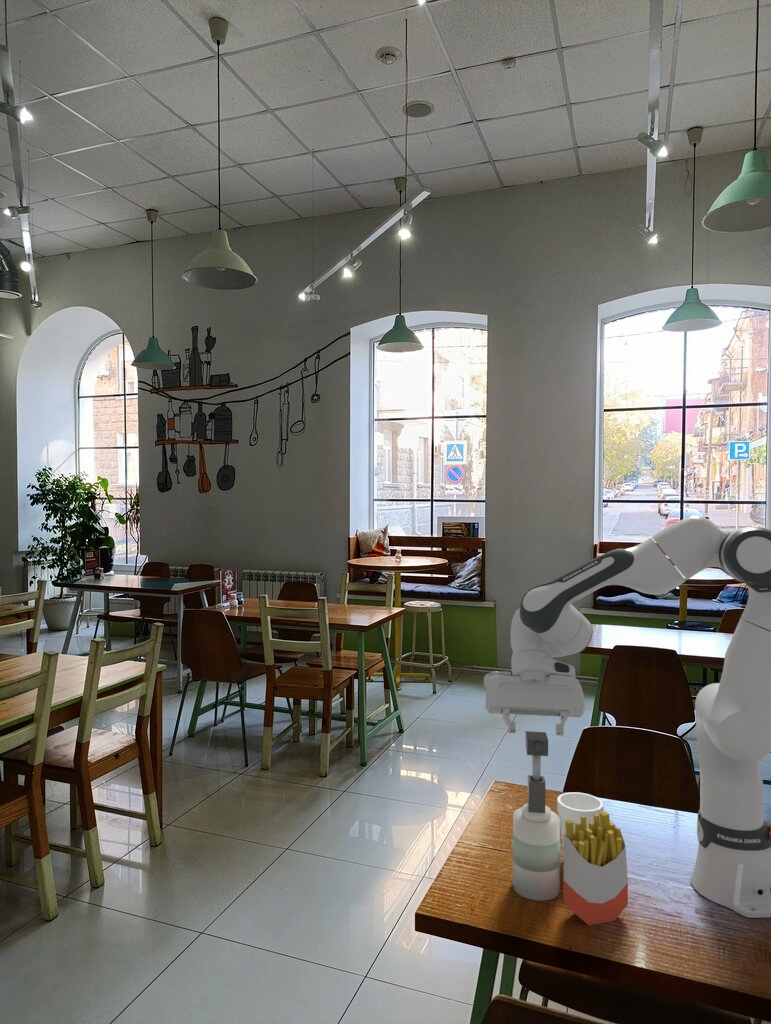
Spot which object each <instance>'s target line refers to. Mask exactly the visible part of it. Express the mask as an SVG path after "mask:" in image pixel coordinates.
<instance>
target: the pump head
mask: <svg viewBox="0 0 771 1024" xmlns="http://www.w3.org/2000/svg"><path fill="white" fill-rule="evenodd" d="M524 734H525V738H524V739H525V742H524V743H525V744H524V745H525V751H526V756H532V762H531V763H532V767H531V768H532V771H531V772H532V773H531V775H532V781H541V776H542V775H541V770H542V769H541V767H542V766H541V765H542V763H541V762H542V759H541V757H548V756H549V738H548V736H547V732H545V731H544V732H543V731H527V730H526V731H525V733H524Z"/></svg>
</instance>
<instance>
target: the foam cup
mask: <svg viewBox="0 0 771 1024" xmlns="http://www.w3.org/2000/svg"><path fill="white" fill-rule="evenodd" d="M556 803H557V804H556V805H557V806H556V807H557V814H558V816H559V818H560V833H561V835H560V836H561V841H562V851H563V852H564V834H566V823H565V821H567V820H571V821H572V822H573V825H574V833H575V823H576V822H579V823H580V824H581V815H585V816H586V827H587V829H589V823H590V822H592V821H593V822H594V814H598V815H599V819H600V812H604V811H605V810H604V806H605V805H604V802H603V800H601V799H600V798H599V797H597V796H594V795H592V794H590V793H584V792H578V791H576V792H572V791H571V792H565V793H562V794H560V795H559V796H557V802H556ZM600 826H601V825H600Z"/></svg>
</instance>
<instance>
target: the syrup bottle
mask: <svg viewBox="0 0 771 1024" xmlns="http://www.w3.org/2000/svg"><path fill="white" fill-rule="evenodd" d="M560 833H561V827H560V818H559V814H558V813H556V812H554V811H552V809H551V807H549V806H548V805H546V780H545V776H544V775H541V781H532V774H528V775H527V803H525V804H523V805H522V806H521V807H519V808H517V809H515V810H514V812H513V814H512V856H511V857H512V888H513V890H514V891H515V893H517V894H518V895H520V896H521V897H523V898H526V899H528V900H532V901H537V902H538V901H540V902H542V901H543V902H544V901H545V902H546V901H550V900H553V899H555V898H557V897H558V896H559V895H560V866H561V835H560Z"/></svg>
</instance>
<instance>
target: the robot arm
mask: <svg viewBox="0 0 771 1024" xmlns="http://www.w3.org/2000/svg"><path fill="white" fill-rule="evenodd" d="M713 567H714V568H717V569H719V570H720V571H722V572H723V573H725V574H726V575H728V576H729V577H731V578H732V579H734V580H735V581H738V582H741V583H744V584H745V585H746V587H747V593H748V598H747V602H746V605H745V608H744V610H743V611H742V614H741V616H740V618H739V621H738V623H737V625H736V627H735V630H734V631H733V635H732V637H731V639H730V642H729V644H728V647H727V648H726V651H725V654H724V661H723V667H722V668H723V669H722V672H721V677H720V680H719V682H715V683H714V682H713V683H710V684H708V685H707V684H706V686H704V687H702V688H701V689H700V690H699V691H698V693H697V695H696V698H695V701H694V703H695V704H694V709H695V727H696V728H695V729H696V730H695V731H696V741H697V743H696V744H697V751H698V752H697V753H698V754H697V755H698V763H699V778H700V779H699V785H700V786H699V788H700V790H699V794H700V795H699V797H700V799H699V804H700V805H699V809H698V810H697V820H696V835H697V841H698V847H697V853H696V860H695V865H694V869H693V871H692V874H691V877H690V883H691V885H692V887H693V889H695V891H697V892H698V893H699V894H700V895H701V896H703V897H704V898H707V900H709V901H711V902H714V903H715V904H719V905H721V906H723V907H726V908H728V909H731V910H732V911H734V912H736V913H737V914H739V915H741V916H743V917H746V918H749V919H750V918H753V919H755V918H756V919H757V918H759V919H760V918H771V917H770V916H771V823H769V822H767V821H766V820H765V819H764V781H763V776H762V773H761V767H760V761H762V760H764V759H765V758H766V757H768V756H769V755H770V754H771V530H770V529H768V528H765V527H761V526H746V527H741V528H737V529H735V530H730V531H722V529H720V528H719V527H718V526H717V525H716V524H715V523H714V522H713V521H712V520H710V519H709V518H706V517H704V516H702V515H690V516H687V517H685V518H683V519H680V520H678V521H676V522H675V523H673V524H671V525H669V526H667V527H665V528H664V529H662V530H660V531H659V532H656V534H653V536H651V537H649V538H648V539H647V540H645V541H643V542H641V543H639V544H635V545H634V546H631V547H627V548H616V549H611V550H609V551H606V552H605V553H603V554H600V555H598V556H596V557H595V558H593V559H590V560H588V561H587V562H585V563H583V564H580V565H579V566H577V567H575V568H574V569H572V570H570V571H567V572H566V573H564V574H562V575H560V576H559V577H557V578H554V579H553V580H550V581H548V582H544V583H541V584H537V585H535V586H533V587H532V588H530V589H528V590H527V592H525V594H523V596H522V599H521V601H520V604H519V608H517V610H516V611H515V612H514V614H513V616H512V620H511V625H510V647H511V651H512V654H511V660H510V661H511V662H510V664H511V671H497V670H492V671H490V672H489V673H486V674H485V675H484V677H483V687H484V688H485V689H486V691H485V704H484V705H485V707H484V708H485V710H486V712H487V713H489V714H498V715H501V714H502V719H503V721H504V723H505V724H506V726H507V733H508V734H516V732H517V729H516V728H517V727H516V725H517V724H516V723H517V722H516V721H512V720H511V718H510V715H518V716H521V715H522V716H539V717H540V716H541V717H542V716H543V717H558V718H559V720H560V723H555V728H554V729H555V730H554V731H555V736H561V737H563V736H565V735H564V734H565V730H564V729H565V726H566V724H567V722H568V720H569V718H582V717H583V715H584V713H585V709H586V701H585V696H584V692H583V689H582V685H581V683H580V681H579V680H578V679H577V677H576V669H575V666H574V665H572V664H569V663H565V662H562V661H559V660H556V659H557V658H565V657H569V656H574V655H577V654H579V653H581V652H583V651H584V650H585V649H586V648H587V647H588V646H590V645H589V644H590V643H591V640H592V638H593V625H592V623H591V622H590V620H588V619H587V618H586V617H585V615H584V614H583V613H582V612H580V611H579V610H578V609H577V608H576V607H575V606H574V605H573V603H574V602H576V601H578V600H580V599H582V598H584V597H586V596H588V595H589V594H592V593H594V592H595V591H598V590H599V589H601V588H604V587H606V586H623V587H626V588H630V589H632V590H635V591H638V592H639V593H642V594H647V595H653V596H655V595H656V596H657V595H663V594H665V593H669V592H671V591H673V590H674V589H677V588H678V587H679V586H680V585H682V584H684V583H685V582H686V581H688V580H690V579H691V578H693V577H695V575H697V574H698V573H700V572H702V571H704V570H706V569H710V568H713ZM553 658H556V659H553Z"/></svg>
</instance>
